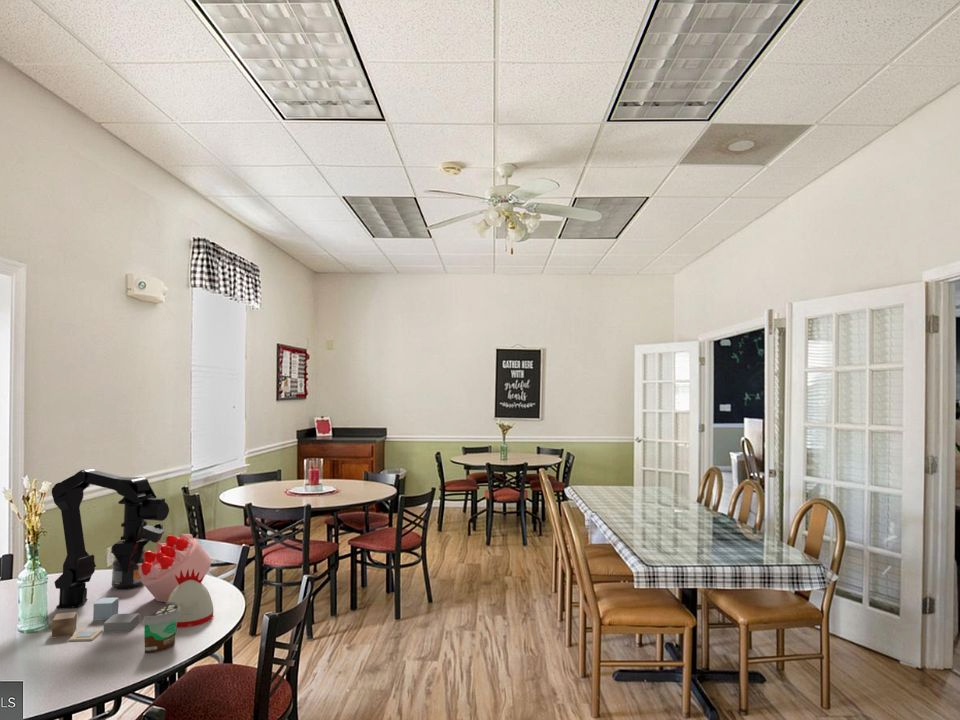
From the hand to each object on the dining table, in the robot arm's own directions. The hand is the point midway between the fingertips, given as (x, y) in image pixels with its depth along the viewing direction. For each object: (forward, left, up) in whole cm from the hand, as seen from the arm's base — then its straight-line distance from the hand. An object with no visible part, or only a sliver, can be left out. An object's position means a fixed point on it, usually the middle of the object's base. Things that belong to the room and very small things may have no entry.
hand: (131, 568), depth 194 cm
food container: (+20, -29, -13) cm, 38 cm away
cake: (+13, +12, -7) cm, 19 cm away
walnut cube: (-11, -17, -13) cm, 24 cm away
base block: (+3, -14, -13) cm, 20 cm away
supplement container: (-10, +25, -13) cm, 30 cm away
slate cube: (-5, -5, -13) cm, 15 cm away
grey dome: (+20, -9, -13) cm, 26 cm away
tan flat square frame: (-4, -20, -13) cm, 24 cm away
